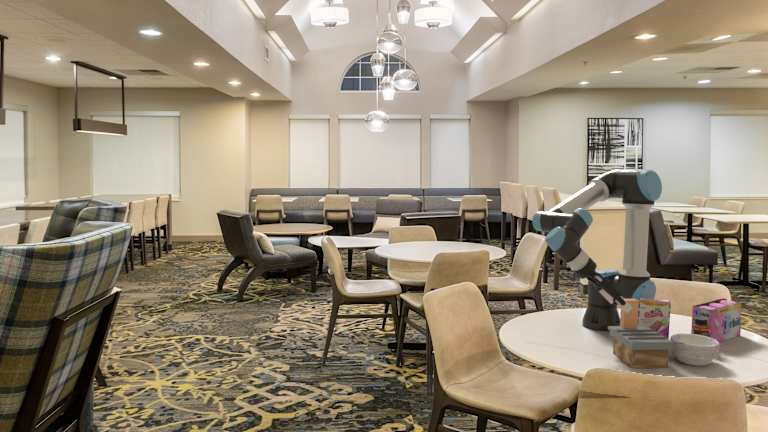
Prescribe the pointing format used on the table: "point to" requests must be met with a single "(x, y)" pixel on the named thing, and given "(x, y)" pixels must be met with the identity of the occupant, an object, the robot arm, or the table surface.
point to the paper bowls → (695, 348)
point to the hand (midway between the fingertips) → (621, 305)
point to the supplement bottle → (701, 327)
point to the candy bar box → (654, 315)
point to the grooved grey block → (638, 332)
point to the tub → (641, 356)
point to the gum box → (720, 318)
